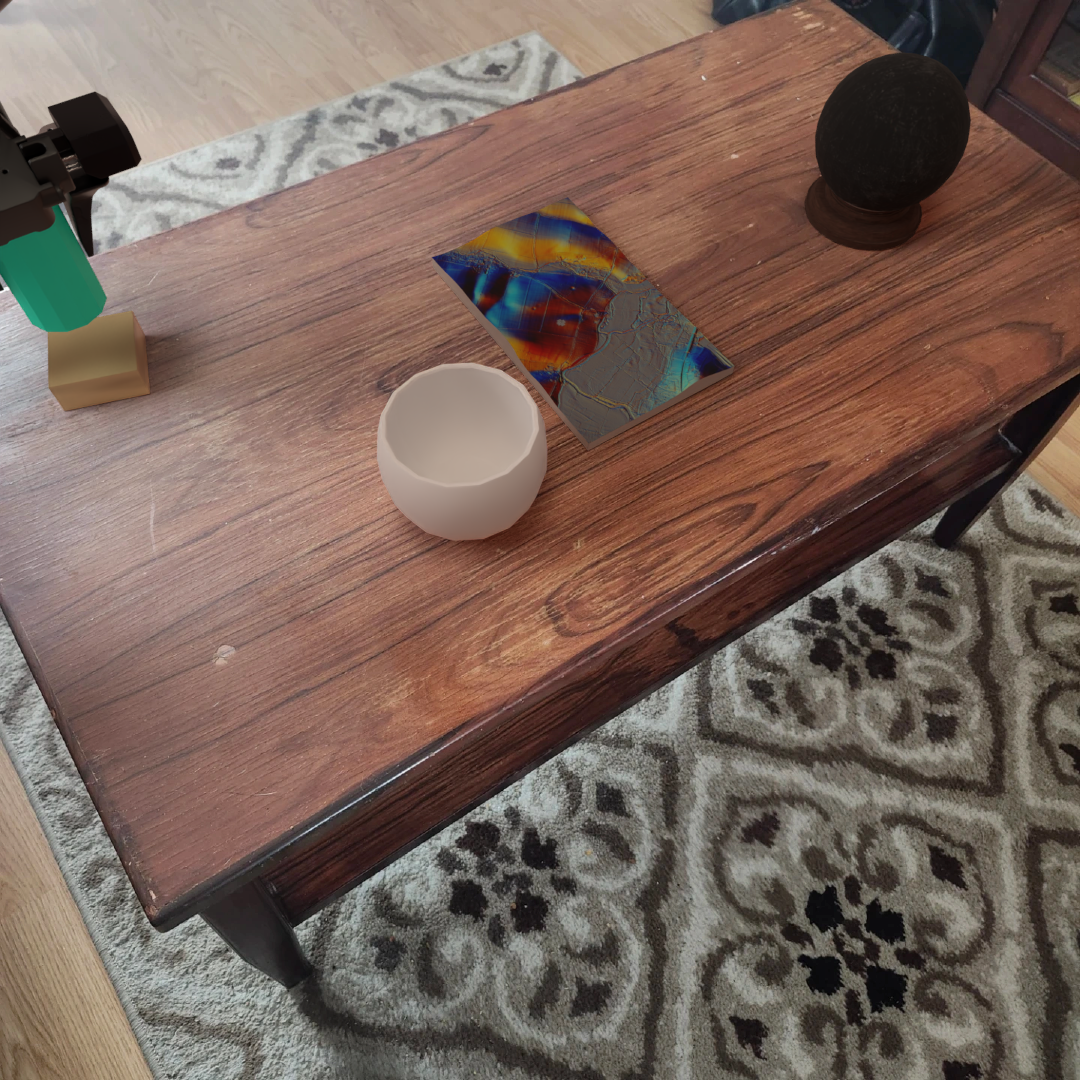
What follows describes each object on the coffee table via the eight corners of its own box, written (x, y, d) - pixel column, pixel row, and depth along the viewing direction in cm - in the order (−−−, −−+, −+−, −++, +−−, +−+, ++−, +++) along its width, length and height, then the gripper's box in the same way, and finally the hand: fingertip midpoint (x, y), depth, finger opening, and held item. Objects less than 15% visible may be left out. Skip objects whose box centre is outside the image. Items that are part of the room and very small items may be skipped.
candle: (12, 304, 71) (-75, 170, 61) (81, 267, 73) (9, 132, 63) (52, 345, 69) (-32, 213, 58) (121, 305, 71) (53, 172, 61)
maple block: (62, 351, 79) (47, 326, 76) (145, 335, 80) (132, 310, 78) (64, 411, 76) (47, 387, 73) (150, 393, 77) (137, 369, 74)
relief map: (732, 373, 78) (737, 357, 77) (587, 450, 74) (589, 435, 72) (567, 208, 89) (568, 191, 88) (432, 267, 85) (430, 250, 83)
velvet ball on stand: (931, 180, 92) (996, 33, 79) (927, 268, 85) (997, 123, 73) (801, 159, 94) (844, 11, 81) (787, 244, 87) (831, 97, 74)
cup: (495, 593, 67) (490, 524, 59) (358, 524, 70) (335, 448, 62) (573, 475, 73) (579, 396, 64) (443, 415, 76) (433, 332, 67)
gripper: (-214, 198, 48) (-54, 392, 62) (125, 86, 54) (205, 286, 67) (-251, 93, 53) (-95, 294, 66) (63, 0, 59) (149, 203, 72)
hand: (45, 270), depth 68 cm, fingers closed on candle, 6 cm apart
